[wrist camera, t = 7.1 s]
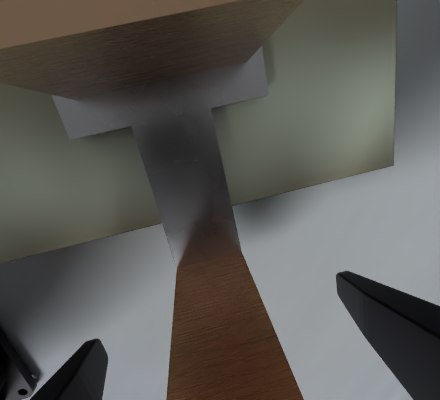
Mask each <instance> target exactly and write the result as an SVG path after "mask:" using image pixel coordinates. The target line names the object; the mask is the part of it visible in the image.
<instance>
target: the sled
mask: <svg viewBox="0 0 440 400" xmlns="http://www.w3.org/2000/svg"><path fill="white" fill-rule="evenodd" d="M303 1H304V0H0V83H1V84H6V85H10V86H15V87H19V88H24V89H28V90H33V91H37V92H42V93H46V94H50V95H52V98H53V100H54V103H55V105H56V108H57V110H58V112H59V115H60V117H61V120H62V122H63V125H64V127H65V130H66V132H67V135H68V137H69V139H70V140H73V139H81V138H86V137H90V136H94V135H99V134H103V133H108V132H112V131H117V130H121V129H125V128H130V127H132V130H133V133H134V136H135V139H136V142H137V145H138V149H139V152H140V155H141V158H142V161H143V164H144V167H145V170H146V173H147V177H148V180H149V183H150V186H151V189H152V192H153V195H154V198H155V201H156V205H157V208H158V211H159V214H160V217H161V220H162V223H163V226H164V230H165V233H166V236H167V239H168V242H169V245H170V248H171V251H172V254H173V258H174V261H175V264H176V267H177V274H176V287H175V299H174V312H173V325H172V337H171V350H170V362H169V375H168V387H167V400H304V399H303V397H302V394H301V392H300V390H299V387H298V385H297V383H296V380H295V378H294V375H293V373H292V371H291V368H290V366H289V363H288V361H287V359H286V356H285V354H284V352H283V349H282V347H281V344H280V342H279V340H278V337H277V335H276V333H275V330H274V328H273V325H272V323H271V321H270V318H269V316H268V314H267V311H266V309H265V306H264V304H263V302H262V299H261V297H260V295H259V292H258V290H257V287H256V285H255V283H254V280H253V278H252V276H251V273H250V271H249V268H248V266H247V264H246V261H245V259H244V256H243V254H242V252H241V247H240V242H239V238H238V233H237V228H236V224H235V219H234V214H233V210H232V205H231V200H230V196H229V191H228V186H227V182H226V177H225V172H224V167H223V163H222V158H221V153H220V149H219V144H218V139H217V135H216V130H215V125H214V121H213V116H212V111H211V109H214V108H218V107H223V106H227V105H232V104H236V103H241V102H245V101H250V100H254V99H258V98H262V97H265V96H267V95H269V94H268V87H267V80H266V72H265V65H264V58H263V51H262V45H263V44H264V43H265V42H266V41H267V40H268V38H269V37H270V36H271V35H272V34H273V33H274V32H275V31H276V30H277V29H278V28H279V27H280V25H281V24H282V23H283V22H284V21H285V20H286V19H287V18H288V17H289V16H290V15H291V14H292V12H293V11H294V10H295V9H296V8H297V7H298V6H299V5H300V4H301V3H302V2H303Z"/></svg>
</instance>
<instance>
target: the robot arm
mask: <svg viewBox="0 0 440 400" xmlns="http://www.w3.org/2000/svg"><path fill="white" fill-rule="evenodd" d="M336 283H337V293H338V295H339V297H340V299H341V301H342V302H343V304H344V305H345V307H346V309H347V310H348V312H349V313H350V315H351V316H352V318H353V320H354V321H355V323H356V324H357V326H358V327H359V329H360V330H361V332H362V333H363V335H364V336H365V338H366V339H367V340H368V342H369V343H370V344H371V346H372V347H373V348H374V349H375V351H376V352H377V353H378V355H379V356H380V357H381V358H382V360H383V361H384V362H385V364H386V365H387V366H388V367H389V369H390V370H391V371H392V373H393V374H394V375H395V376H396V378H397V379H398V380H399V382H400V383H401V384H402V385H403V387H404V388H405V389H406V391H407V392H408V393H409V394H410V396H411V397H412V398H413V400H440V306H438V305H435V304H433V303H430V302H428V301H425V300H422V299H420V298H417V297H415V296H412V295H409V294H407V293H404V292H402V291H399V290H396V289H394V288H391V287H389V286H386V285H383V284H381V283H378V282H376V281H373V280H370V279H368V278H365V277H363V276H360V275H357V274H355V273H352V272H350V271H344V272H340V273H337V275H336ZM107 364H108V355H107V353H106V351H105V349H104V347H103V345H102V343H101V341H100V340H99V339H93V340H89V341H86V342H85V343H84V344H83V345H82V346H81V347H80V348H79V349H78V350H77V351H76V352H75V353H74V354H73V355H72V356H71V357H70V358H69V359H68V361H67V362H66V363H65V364H64V365H63V366H62V367H61V368H60V369H59V370H58V371H57V372H56V373H55V374H54V375H53V376H52V377H51V378H50V379H49V380H48V381H47V382H46V383H45V384H44V385H43V386H42V387H41V388H40V389H39V390H38V392H37V393H36V394H35V395H34V396H33V397H32V398H31V399H30V400H102V396H103V390H104V383H105V377H106V371H107ZM36 386H37V384H36V382H35V380H34V379H33V377H32V376H31V374H30V373H29V371H28V370H27V368H26V367H25V365H24V364H23V362H22V361H21V359H20V358H19V356H18V355H17V353H16V351H15V350H14V348H13V347H12V345H11V344H10V342H9V341H8V339H7V338H6V336H5V335H4V333H3V332H2V330H1V329H0V400H22V399H25V398H28V397H30V396H31V395H32V394H33V392H34V390H35V389H36Z"/></svg>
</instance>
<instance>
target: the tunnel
mask: <svg viewBox="0 0 440 400" xmlns="http://www.w3.org/2000/svg"><path fill="white" fill-rule="evenodd" d="M396 7H397V0H304V1H303V2H302V3H301V4H300V5H299V6H298V7H297V8H296V9H295V10H294V11H293V12H292V14H291V15H290V16H289V17H288V18H287V19H286V20H285V21H284V22H283V23H282V24H281V25H280V27H279V28H278V29H277V30H276V31H275V32H274V33H273V34H272V35H271V36H270V37H269V38H268V40H267V41H266V42H265V43H264V44H263V45H262V51H263V58H264V65H265V72H266V80H267V87H268V94H269V95H267V96H265V97H262V98H258V99H254V100H250V101H245V102H241V103H236V104H232V105H227V106H223V107H218V108H214V109H211V111H212V116H213V121H214V125H215V130H216V135H217V139H218V144H219V149H220V153H221V158H222V163H223V167H224V172H225V177H226V182H227V186H228V191H229V196H230V200H231V205H232V206H233V205H237V204H241V203H245V202H249V201H253V200H257V199H261V198H265V197H269V196H273V195H277V194H281V193H285V192H289V191H293V190H297V189H301V188H305V187H309V186H313V185H317V184H321V183H325V182H329V181H333V180H337V179H341V178H345V177H349V176H353V175H357V174H361V173H365V172H369V171H374V170H378V169H382V168H386V167H390V166H394V117H395V62H396ZM161 223H162V220H161V217H160V214H159V211H158V208H157V205H156V201H155V198H154V195H153V192H152V189H151V186H150V183H149V180H148V177H147V173H146V170H145V167H144V164H143V161H142V158H141V155H140V152H139V149H138V145H137V142H136V139H135V136H134V133H133V130H132V127H130V128H125V129H121V130H117V131H112V132H108V133H103V134H99V135H94V136H90V137H86V138H81V139H73V140H70V139H69V137H68V135H67V132H66V130H65V127H64V125H63V122H62V120H61V117H60V115H59V112H58V110H57V108H56V105H55V103H54V100H53V98H52V95H50V94H46V93H42V92H37V91H33V90H28V89H24V88H19V87H15V86H10V85H6V84H1V83H0V263H4V262H8V261H12V260H16V259H20V258H24V257H28V256H32V255H36V254H40V253H44V252H48V251H52V250H56V249H60V248H64V247H68V246H72V245H76V244H80V243H84V242H88V241H92V240H96V239H100V238H104V237H108V236H112V235H117V234H121V233H125V232H129V231H133V230H137V229H141V228H145V227H149V226H153V225H157V224H161Z"/></svg>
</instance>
